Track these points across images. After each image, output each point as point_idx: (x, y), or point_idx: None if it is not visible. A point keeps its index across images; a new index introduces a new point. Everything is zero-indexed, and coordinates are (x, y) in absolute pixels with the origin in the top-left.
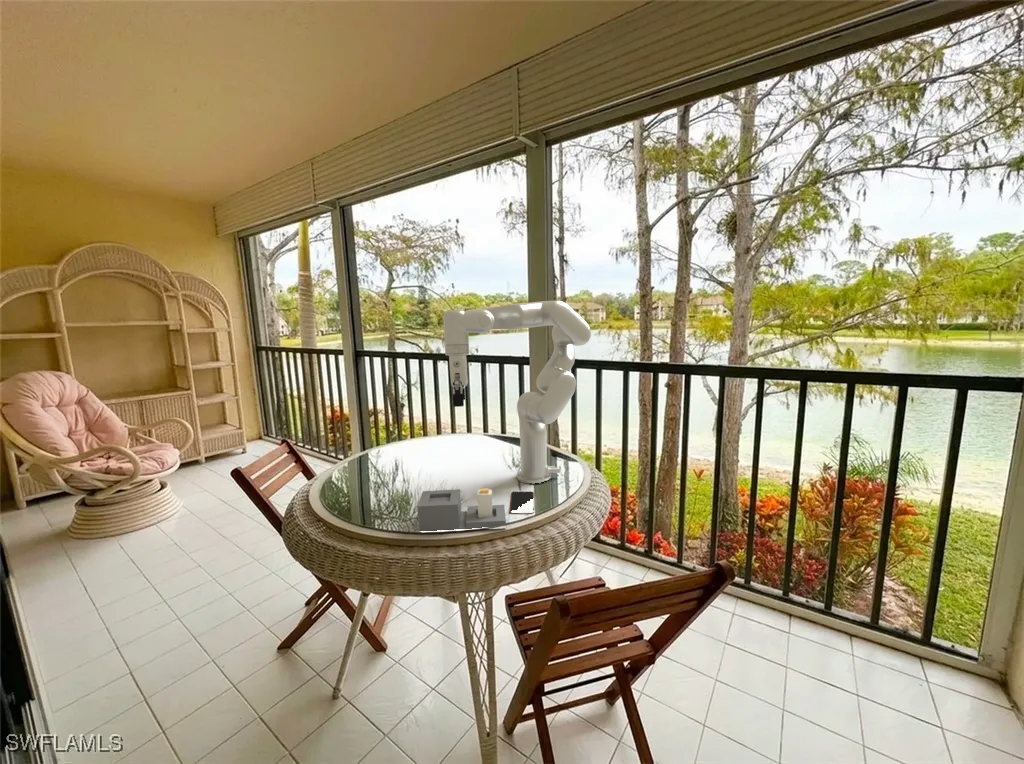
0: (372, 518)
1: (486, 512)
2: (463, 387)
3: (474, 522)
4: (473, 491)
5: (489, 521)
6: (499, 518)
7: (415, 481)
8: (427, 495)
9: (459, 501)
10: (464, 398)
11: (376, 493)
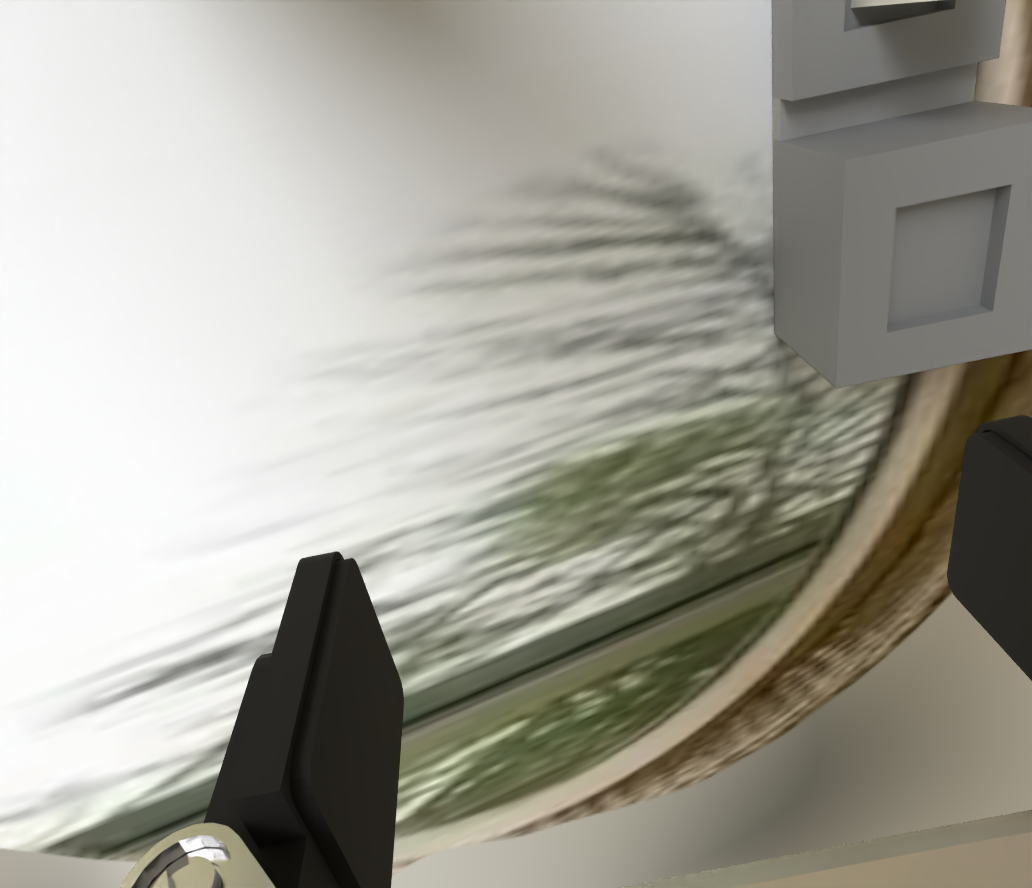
0: (768, 536)
1: None
2: (239, 841)
3: (1005, 2)
4: (453, 137)
5: None
6: None
7: (359, 516)
8: (900, 343)
9: (925, 134)
10: (349, 573)
11: (525, 620)
